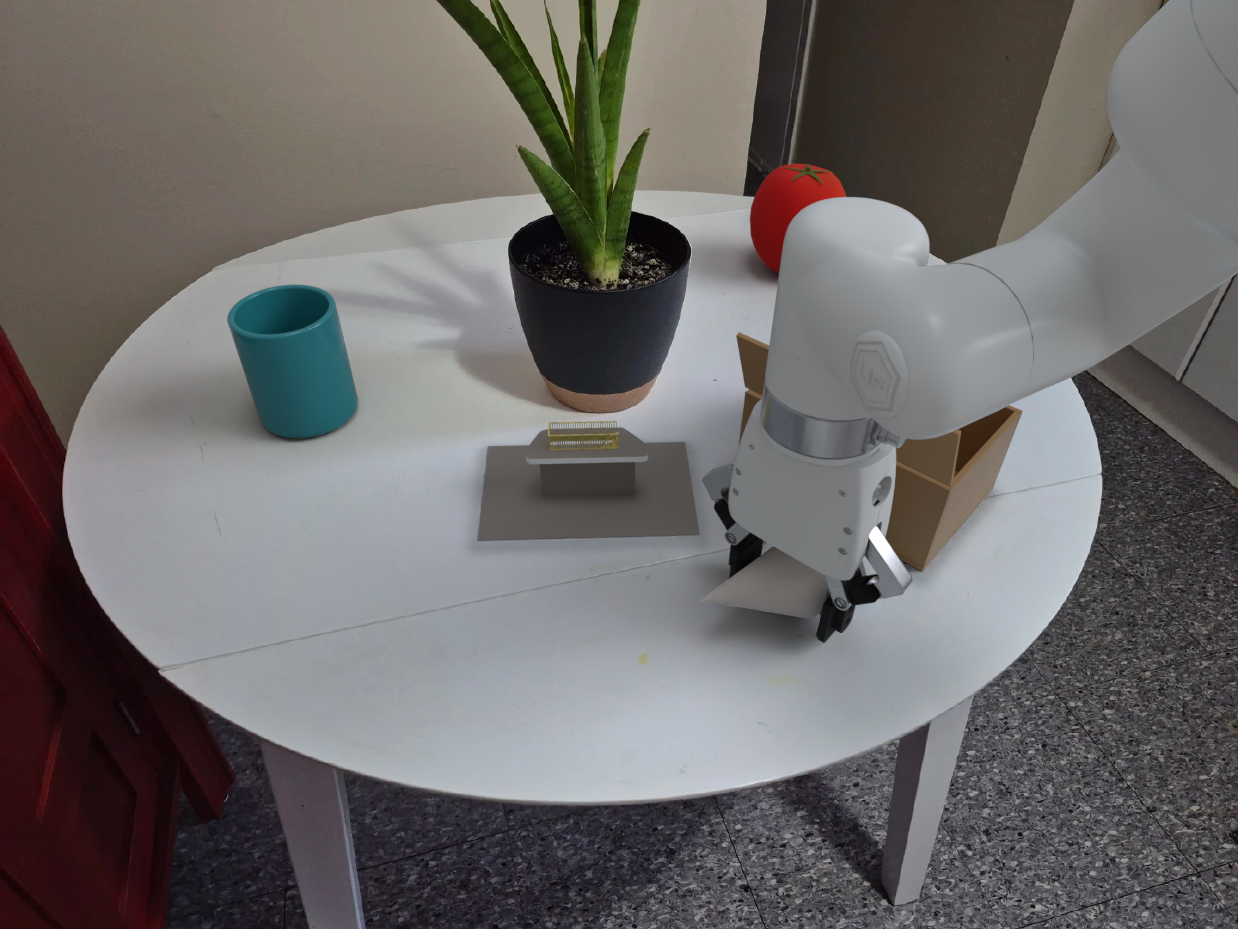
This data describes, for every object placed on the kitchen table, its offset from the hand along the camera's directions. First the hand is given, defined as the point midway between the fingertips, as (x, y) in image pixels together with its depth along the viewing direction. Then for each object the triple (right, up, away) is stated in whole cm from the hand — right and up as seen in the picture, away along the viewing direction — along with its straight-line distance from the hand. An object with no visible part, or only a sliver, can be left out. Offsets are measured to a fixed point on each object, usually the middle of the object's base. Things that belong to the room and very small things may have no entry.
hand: (786, 600), depth 64 cm
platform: (-15, +8, +11) cm, 20 cm away
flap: (+4, +14, 0) cm, 15 cm away
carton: (+9, +9, +12) cm, 17 cm away
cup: (-42, +16, +20) cm, 49 cm away
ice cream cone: (0, -1, +1) cm, 1 cm away
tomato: (+8, +34, +41) cm, 54 cm away
